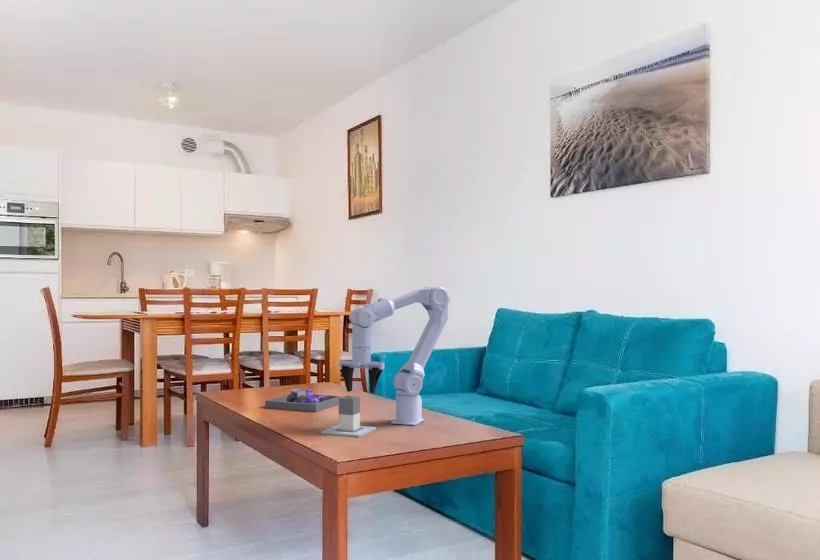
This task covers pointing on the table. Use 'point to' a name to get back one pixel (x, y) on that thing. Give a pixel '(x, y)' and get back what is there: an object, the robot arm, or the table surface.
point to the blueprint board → (356, 433)
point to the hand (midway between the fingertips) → (360, 392)
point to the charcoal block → (349, 405)
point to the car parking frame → (301, 404)
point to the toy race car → (305, 397)
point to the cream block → (349, 422)
